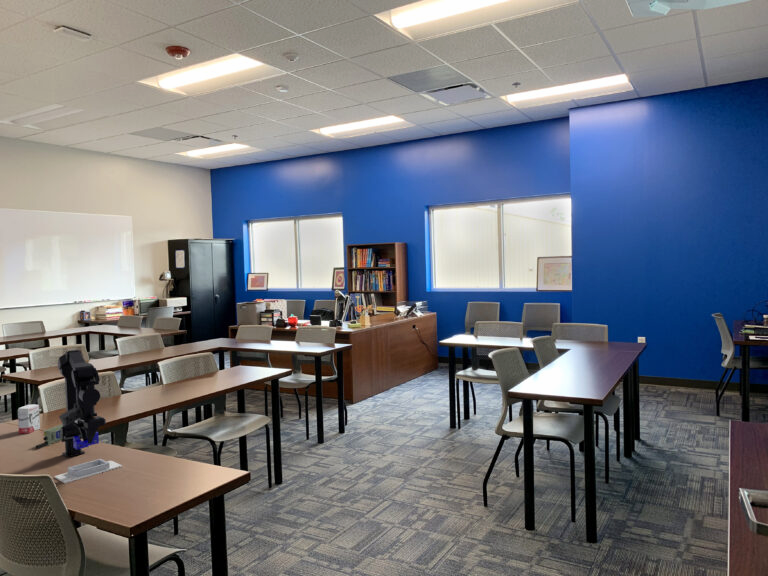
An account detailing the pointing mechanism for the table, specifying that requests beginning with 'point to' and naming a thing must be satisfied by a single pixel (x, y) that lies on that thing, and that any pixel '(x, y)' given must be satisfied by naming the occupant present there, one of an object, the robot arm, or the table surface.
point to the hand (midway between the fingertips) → (87, 442)
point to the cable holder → (84, 442)
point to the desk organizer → (87, 470)
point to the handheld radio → (51, 436)
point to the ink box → (28, 418)
